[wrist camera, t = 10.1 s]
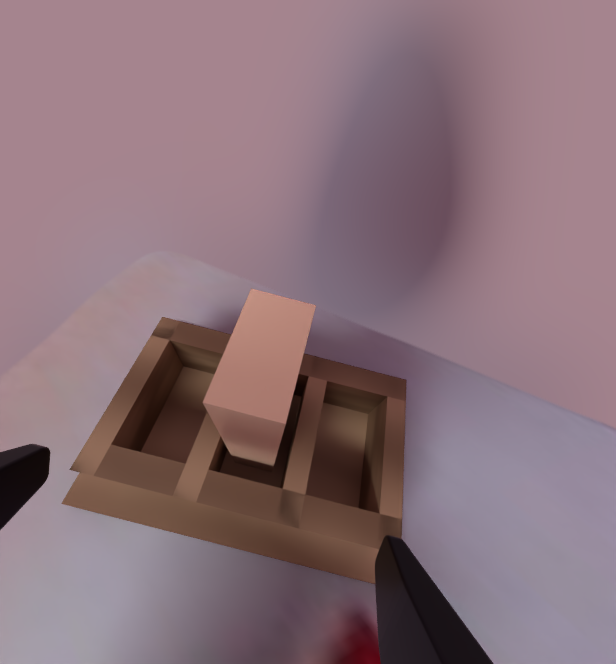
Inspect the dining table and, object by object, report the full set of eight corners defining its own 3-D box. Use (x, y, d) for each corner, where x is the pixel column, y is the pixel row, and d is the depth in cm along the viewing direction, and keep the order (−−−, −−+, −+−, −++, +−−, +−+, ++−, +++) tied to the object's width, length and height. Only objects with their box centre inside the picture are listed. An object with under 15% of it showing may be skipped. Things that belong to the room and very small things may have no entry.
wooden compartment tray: (393, 587, 17) (433, 610, 13) (69, 503, 17) (10, 502, 13) (401, 387, 24) (429, 363, 20) (170, 327, 24) (152, 291, 20)
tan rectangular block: (271, 471, 19) (285, 423, 8) (234, 462, 19) (202, 402, 8) (288, 406, 21) (316, 305, 11) (255, 397, 21) (251, 288, 11)
